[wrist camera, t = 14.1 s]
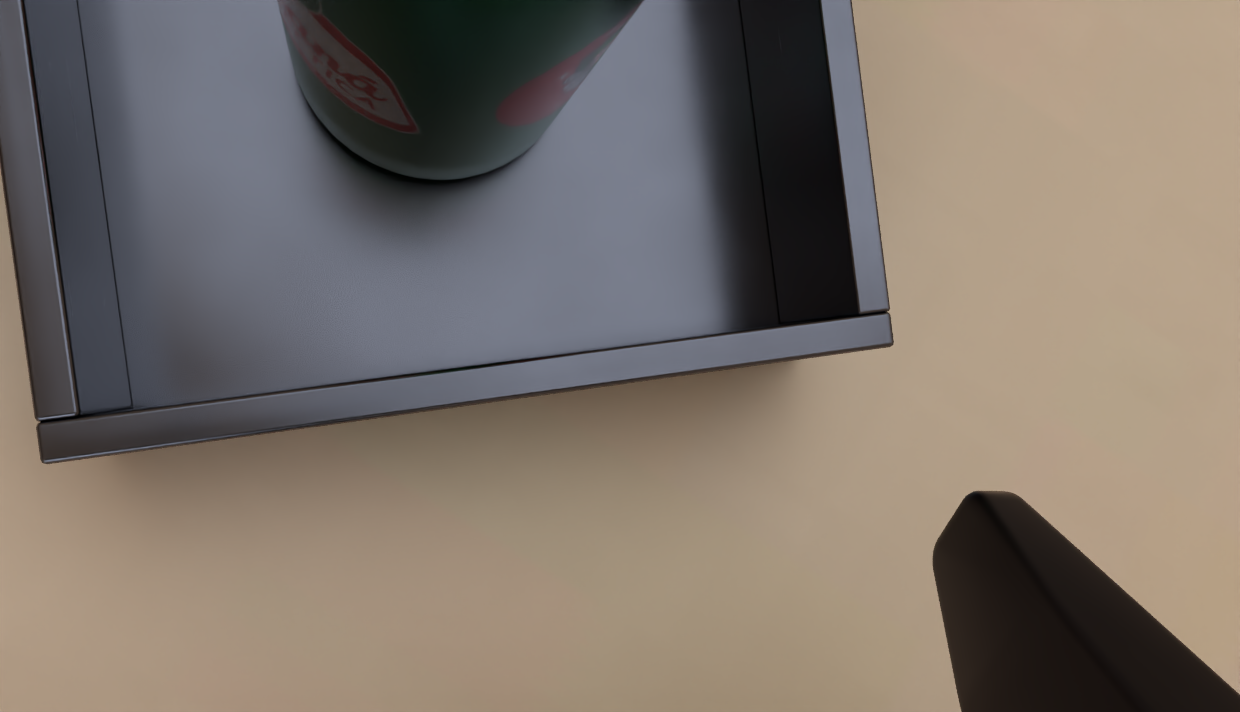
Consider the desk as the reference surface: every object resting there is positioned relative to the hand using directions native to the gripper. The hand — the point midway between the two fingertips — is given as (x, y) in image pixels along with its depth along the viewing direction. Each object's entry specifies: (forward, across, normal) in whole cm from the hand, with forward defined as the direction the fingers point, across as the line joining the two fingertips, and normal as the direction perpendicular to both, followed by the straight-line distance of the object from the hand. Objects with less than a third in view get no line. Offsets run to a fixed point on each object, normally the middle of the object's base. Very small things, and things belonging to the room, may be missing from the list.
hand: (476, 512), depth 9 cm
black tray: (+13, 0, +3) cm, 13 cm away
